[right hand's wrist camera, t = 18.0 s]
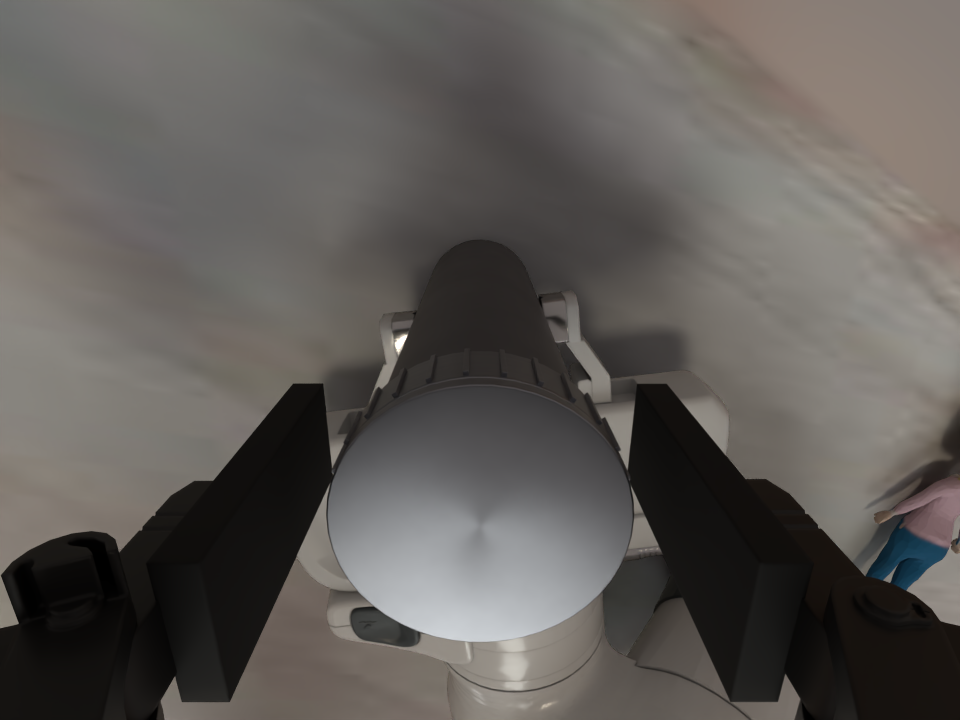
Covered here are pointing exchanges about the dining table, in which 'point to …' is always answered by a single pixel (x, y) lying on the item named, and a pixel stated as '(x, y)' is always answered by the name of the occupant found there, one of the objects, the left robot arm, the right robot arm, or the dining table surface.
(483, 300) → the bottle
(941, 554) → the figurine
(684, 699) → the left robot arm
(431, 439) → the lid
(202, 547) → the right robot arm
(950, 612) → the dining table surface
